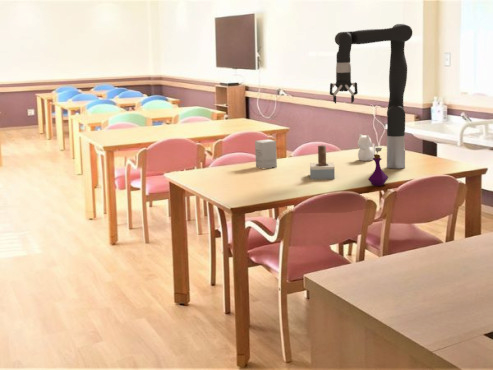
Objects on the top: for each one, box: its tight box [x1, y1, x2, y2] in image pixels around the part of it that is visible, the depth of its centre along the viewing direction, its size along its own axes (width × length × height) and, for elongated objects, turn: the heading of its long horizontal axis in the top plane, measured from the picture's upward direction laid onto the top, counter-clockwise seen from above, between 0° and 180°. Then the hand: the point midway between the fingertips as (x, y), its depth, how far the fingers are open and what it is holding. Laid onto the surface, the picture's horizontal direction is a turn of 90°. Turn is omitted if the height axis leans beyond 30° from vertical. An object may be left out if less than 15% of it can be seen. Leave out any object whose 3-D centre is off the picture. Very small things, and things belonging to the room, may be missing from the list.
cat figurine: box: [357, 133, 377, 162], centre depth 408 cm, size 9×12×15 cm
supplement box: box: [254, 138, 278, 169], centre depth 397 cm, size 9×9×15 cm
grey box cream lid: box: [309, 162, 336, 180], centre depth 366 cm, size 12×12×6 cm
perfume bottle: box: [367, 147, 389, 187], centre depth 341 cm, size 8×8×18 cm
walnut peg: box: [317, 144, 327, 166], centre depth 365 cm, size 4×4×16 cm
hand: (343, 103), depth 372 cm, fingers open, 8 cm apart
